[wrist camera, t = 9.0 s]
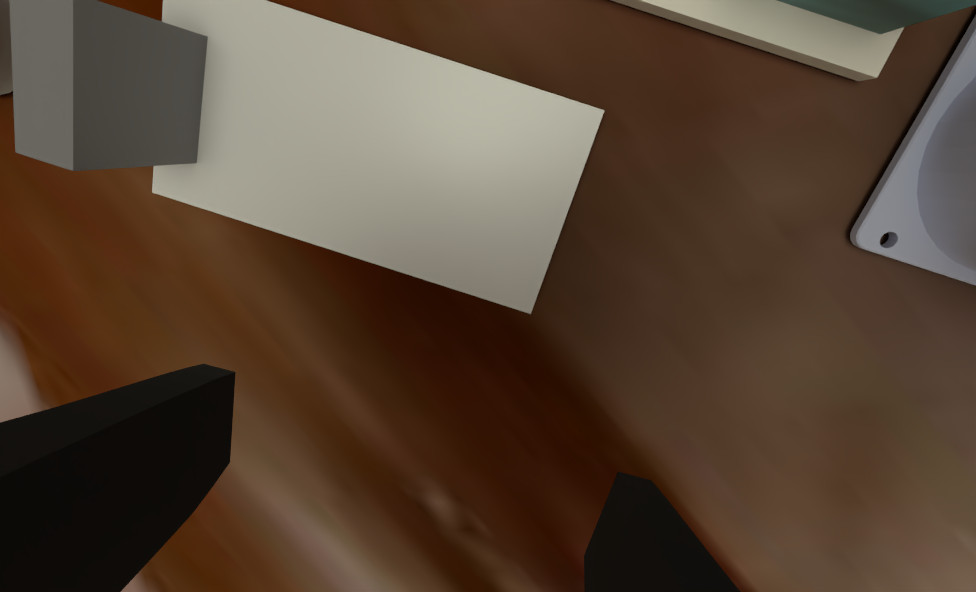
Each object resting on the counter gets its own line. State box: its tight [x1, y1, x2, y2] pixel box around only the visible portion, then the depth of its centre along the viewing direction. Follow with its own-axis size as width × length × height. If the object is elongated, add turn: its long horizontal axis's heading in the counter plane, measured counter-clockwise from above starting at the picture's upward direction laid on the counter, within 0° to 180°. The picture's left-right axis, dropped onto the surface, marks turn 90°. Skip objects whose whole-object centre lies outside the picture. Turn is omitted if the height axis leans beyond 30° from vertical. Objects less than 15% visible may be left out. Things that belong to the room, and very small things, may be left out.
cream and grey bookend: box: [9, 0, 605, 314], centre depth 13 cm, size 14×7×5 cm, turn 73°
